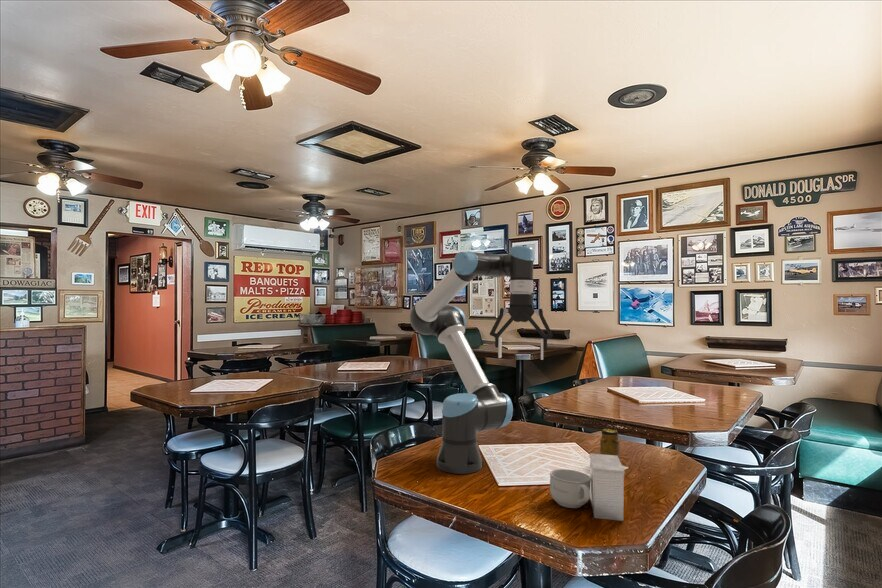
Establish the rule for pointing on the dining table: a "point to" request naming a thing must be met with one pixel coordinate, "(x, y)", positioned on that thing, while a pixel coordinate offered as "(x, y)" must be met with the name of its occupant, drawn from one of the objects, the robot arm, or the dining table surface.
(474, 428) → the robot arm
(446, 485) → the dining table surface
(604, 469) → the napkin dispenser
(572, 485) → the teacup
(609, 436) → the condiment
